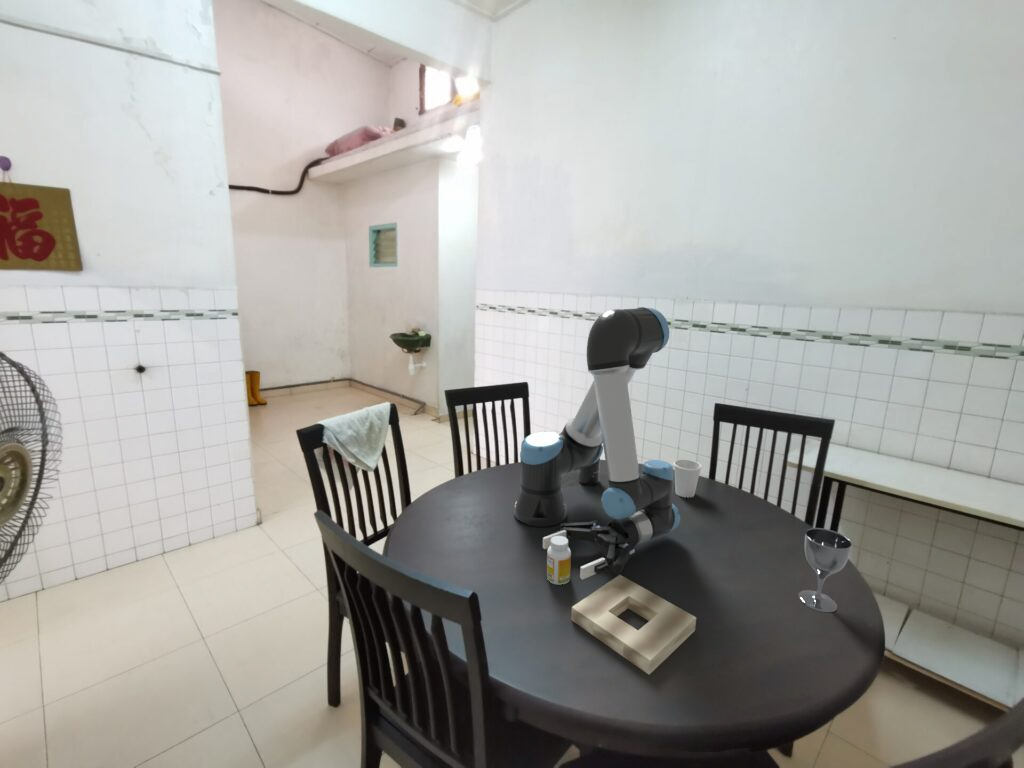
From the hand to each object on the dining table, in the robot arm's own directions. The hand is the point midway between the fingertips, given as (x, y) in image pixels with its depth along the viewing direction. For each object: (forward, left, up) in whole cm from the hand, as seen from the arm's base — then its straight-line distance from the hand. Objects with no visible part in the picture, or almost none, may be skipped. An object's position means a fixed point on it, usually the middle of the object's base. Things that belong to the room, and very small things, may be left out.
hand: (561, 557), depth 107 cm
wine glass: (+41, +36, -6) cm, 55 cm away
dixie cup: (-4, +62, -6) cm, 63 cm away
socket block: (+19, 0, -6) cm, 20 cm away
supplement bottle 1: (-1, 0, -6) cm, 6 cm away
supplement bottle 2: (-30, +46, -6) cm, 55 cm away
